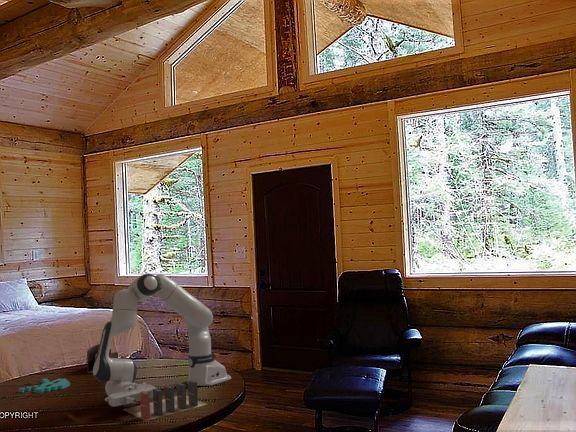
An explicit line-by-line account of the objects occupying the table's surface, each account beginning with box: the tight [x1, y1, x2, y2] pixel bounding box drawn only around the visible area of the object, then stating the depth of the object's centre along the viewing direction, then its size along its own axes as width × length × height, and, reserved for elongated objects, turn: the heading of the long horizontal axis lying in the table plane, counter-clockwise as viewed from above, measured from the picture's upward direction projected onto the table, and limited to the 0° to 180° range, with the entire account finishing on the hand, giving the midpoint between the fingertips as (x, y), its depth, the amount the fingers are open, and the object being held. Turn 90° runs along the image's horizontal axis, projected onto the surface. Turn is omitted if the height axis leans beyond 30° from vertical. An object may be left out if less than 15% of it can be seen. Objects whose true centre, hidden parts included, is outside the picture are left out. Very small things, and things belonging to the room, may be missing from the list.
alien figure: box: [18, 378, 71, 394], centre depth 283 cm, size 20×2×20 cm
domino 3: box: [176, 382, 187, 410], centre depth 232 cm, size 2×5×10 cm, turn 39°
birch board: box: [122, 395, 208, 422], centre depth 235 cm, size 29×22×1 cm
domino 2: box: [164, 385, 175, 413], centre depth 229 cm, size 2×5×10 cm, turn 40°
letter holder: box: [86, 343, 119, 374], centre depth 319 cm, size 10×20×14 cm, turn 172°
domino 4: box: [187, 380, 199, 407], centre depth 236 cm, size 2×5×10 cm, turn 39°
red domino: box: [140, 391, 151, 419], centre depth 222 cm, size 2×5×10 cm, turn 40°
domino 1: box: [152, 387, 163, 416], centre depth 225 cm, size 2×5×10 cm, turn 39°
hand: (140, 399), depth 226 cm, fingers open, 4 cm apart
